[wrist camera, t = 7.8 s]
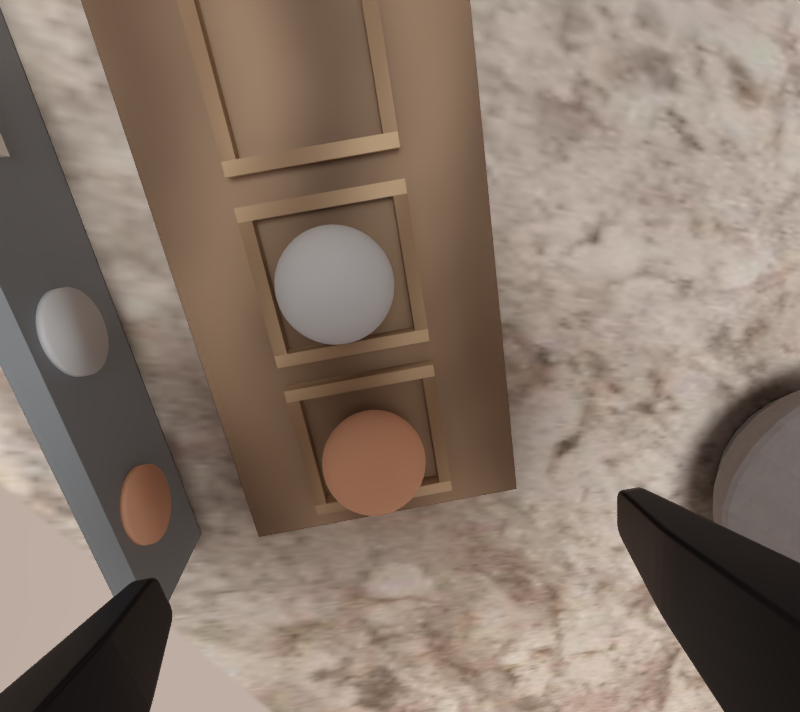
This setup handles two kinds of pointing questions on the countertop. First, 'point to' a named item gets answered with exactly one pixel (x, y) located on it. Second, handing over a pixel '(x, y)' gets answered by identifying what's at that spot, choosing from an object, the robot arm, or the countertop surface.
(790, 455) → the coffee pot
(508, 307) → the countertop surface
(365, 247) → the grey ball
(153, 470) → the card
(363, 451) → the terracotta ball
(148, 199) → the rack
